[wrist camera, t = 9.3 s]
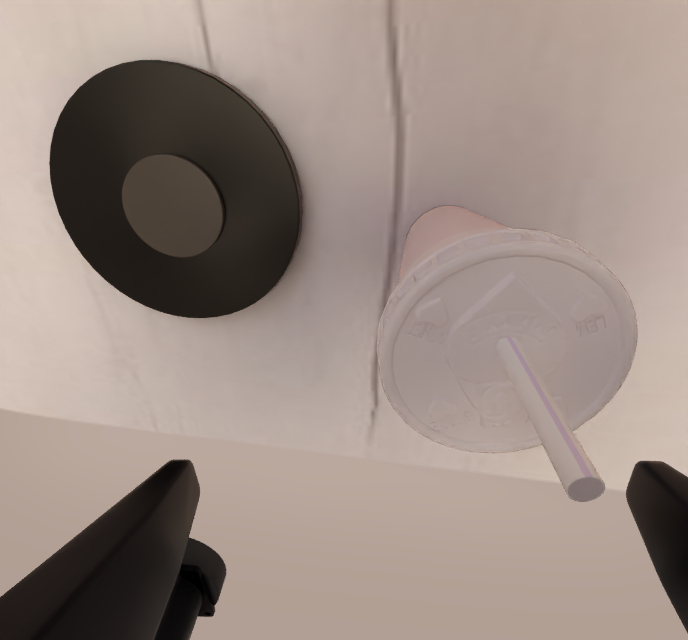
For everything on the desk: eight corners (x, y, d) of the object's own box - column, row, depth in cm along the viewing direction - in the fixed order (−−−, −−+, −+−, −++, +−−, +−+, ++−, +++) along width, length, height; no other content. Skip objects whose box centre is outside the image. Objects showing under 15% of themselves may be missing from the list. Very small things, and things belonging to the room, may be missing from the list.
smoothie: (527, 168, 17) (918, 332, 5) (510, 307, 20) (726, 630, 8) (372, 178, 18) (368, 347, 5) (377, 312, 21) (382, 620, 8)
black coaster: (313, 308, 21) (310, 318, 20) (107, 314, 22) (95, 324, 21) (286, 50, 16) (280, 47, 15) (19, 72, 17) (-2, 70, 16)
